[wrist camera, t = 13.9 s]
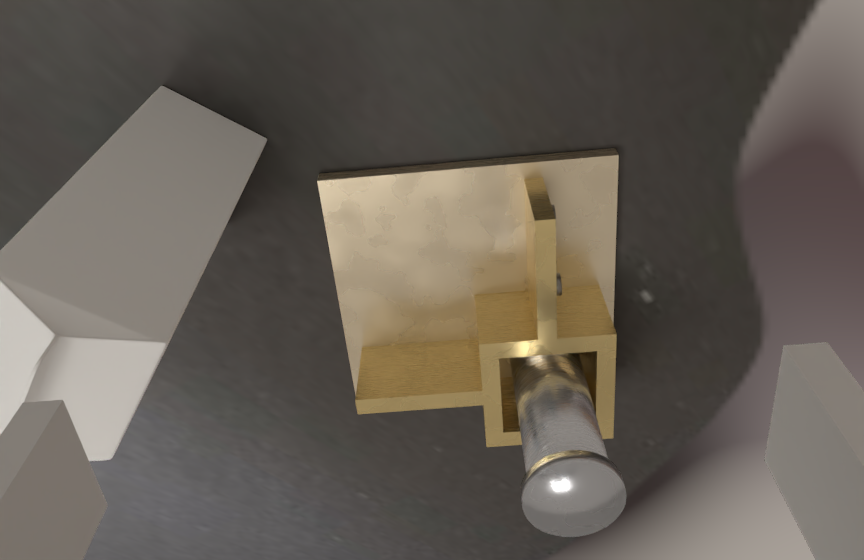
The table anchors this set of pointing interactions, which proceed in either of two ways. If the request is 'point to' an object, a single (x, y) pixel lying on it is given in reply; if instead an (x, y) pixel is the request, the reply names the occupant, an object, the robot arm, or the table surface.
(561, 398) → the pin
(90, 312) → the milk
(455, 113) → the table surface
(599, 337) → the open box on plate
